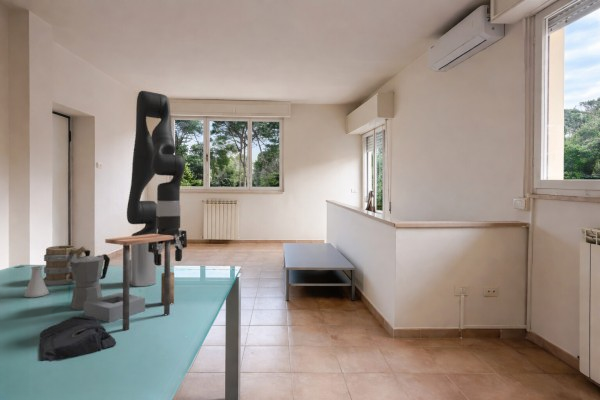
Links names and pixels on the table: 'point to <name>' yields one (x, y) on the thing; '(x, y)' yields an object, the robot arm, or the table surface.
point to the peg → (170, 288)
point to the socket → (112, 307)
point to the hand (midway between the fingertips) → (168, 263)
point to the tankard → (60, 264)
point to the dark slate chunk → (74, 339)
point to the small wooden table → (126, 268)
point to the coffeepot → (87, 278)
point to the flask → (36, 284)
